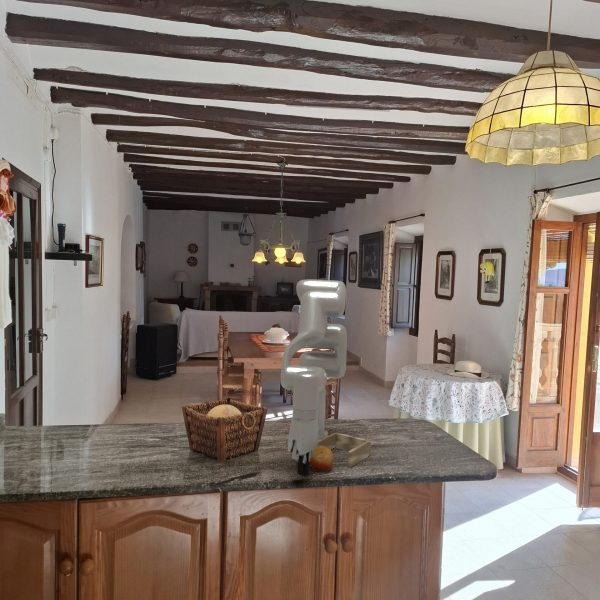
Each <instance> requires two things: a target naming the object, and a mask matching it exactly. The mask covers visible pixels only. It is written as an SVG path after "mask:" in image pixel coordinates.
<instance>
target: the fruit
mask: <svg viewBox="0 0 600 600" xmlns="http://www.w3.org/2000/svg"><path fill="white" fill-rule="evenodd" d="M333 465H334V454H333V451H332V450H330V449H328V448H327V447H325V446H322V445H321V446H317V447H316V448H315V451H313V452H312V454H311V460H310V461H309V467H311V468H312V469H313V471H314V472H323V471H325V472H326V471H329V470H330V469H332V467H333Z"/></svg>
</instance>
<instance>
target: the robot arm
mask: <svg viewBox="0 0 600 600" xmlns="http://www.w3.org/2000/svg"><path fill="white" fill-rule="evenodd" d="M296 294H297V297H298V299H299V302H300V307H299V308H300V309H299V322H298V332H297V334H296V336H295V337H294V338H293V339H292V340H291V341H290V342H289V343H288V344H287V346H286V347H285V349H284V351H283V354H282V358H281V366H280V376H279V377H280V385H281V386H282V387H283V389H285V390H288V391H293V394H292V397H293V398H292V419H291V420H290V425H289V429H288V439H287V440H288V442H287V451H288V453H292V454H291V459H292V460H295V461H296V463H297V466H296V467H297V471H296V472H297V473H296V474H297V475H299V476H302V477H307V476H309V474H310V464H309V461H310V460H311V454H312V452H313V451H315V448H316V447H317V446H318V440H320V439H322V438H324V437H326V436H328V435H329V431H328V430H326V429H325V417H326V416H325V415H326V396H327V395H326V394H327V390H326V386H327V383H328V378H329V379H342V377H344V376H345V374H346V372H347V371H346V370H347V349H348V334H347V333H348V332H347V329H346V327H345V326H344V325H342V324H340V323H328V318H329V317H332V318H333V317H335V318H340V317H342V316H343V315H344V312H345V309H346V301H347V287H346V284H345V283H344V282H343V281H341V280H334V279H333V280H332V279H330V280H329V279H312V278H311V279H301V280H299V281H297V283H296ZM304 348H309V349H312V350H311V351H310V350H308V351H305V352H303V353H301V355H300V356H299V358H298V365H293V364H292V365H291V362H292V359H293V356H294V355H295V354H296V353H297V352H299V351H300V350H302V349H304ZM313 349H315V350H313ZM318 350H319V351H318ZM320 350H321V351H320ZM322 350H328V351H322ZM330 350H331V351H330Z"/></svg>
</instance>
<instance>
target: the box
mask: <svg viewBox="0 0 600 600" xmlns="http://www.w3.org/2000/svg"><path fill="white" fill-rule="evenodd" d="M321 445H322V446H325V447H327V448H328V449H330V450H331V449H332V450H334V449H340V450H344V451H348V452H347V453H348V454H347V468H350V469H351V468H352V467H353V468H354V466H356V465H358V464H359V463H361V462H362V461H364V460H365V459H367V458H369V457H370V456H371V451H372V450H371V449H372V447H371V445H372V441H371V440H368V439H364V438H359V437H355V436H351V435H347V434H343V433H340V432H335V431H334V432H332V433H331V434H328V436H326V437H324V438H322V439H320V440H318V446H321ZM335 447H336V448H335ZM333 448H334V449H333ZM332 450H331V451H332ZM368 456H369V457H368Z"/></svg>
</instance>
